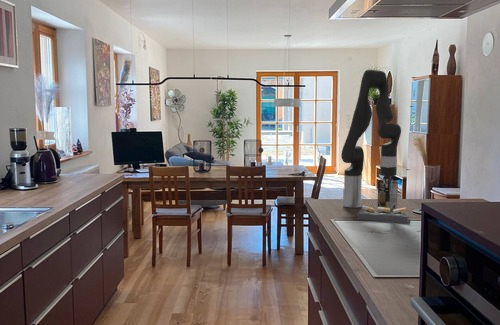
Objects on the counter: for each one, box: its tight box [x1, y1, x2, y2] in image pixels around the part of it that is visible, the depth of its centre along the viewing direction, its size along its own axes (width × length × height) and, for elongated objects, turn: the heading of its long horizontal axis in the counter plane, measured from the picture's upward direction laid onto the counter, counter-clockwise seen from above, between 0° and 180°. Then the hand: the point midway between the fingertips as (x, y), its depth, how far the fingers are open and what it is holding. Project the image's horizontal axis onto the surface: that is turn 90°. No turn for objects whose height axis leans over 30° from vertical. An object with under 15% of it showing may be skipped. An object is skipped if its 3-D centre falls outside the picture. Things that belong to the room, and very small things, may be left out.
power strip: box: [356, 209, 410, 224], centre depth 228 cm, size 23×9×3 cm, turn 69°
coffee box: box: [377, 179, 399, 212], centre depth 247 cm, size 9×6×16 cm
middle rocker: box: [376, 206, 390, 212], centre depth 230 cm, size 6×4×2 cm, turn 69°
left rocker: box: [361, 204, 375, 212], centre depth 233 cm, size 6×4×2 cm, turn 69°
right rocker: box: [393, 207, 407, 213], centre depth 227 cm, size 6×4×2 cm, turn 69°
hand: (387, 201), depth 229 cm, fingers closed
